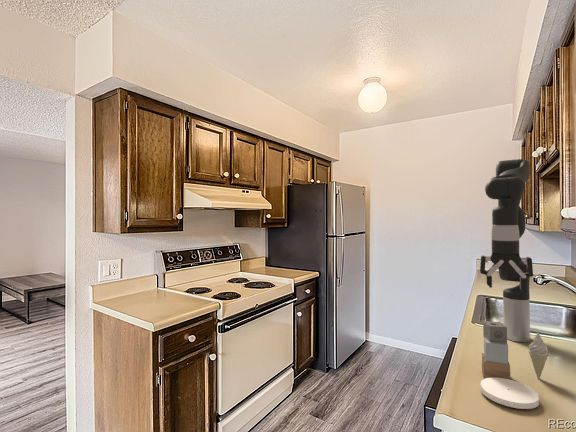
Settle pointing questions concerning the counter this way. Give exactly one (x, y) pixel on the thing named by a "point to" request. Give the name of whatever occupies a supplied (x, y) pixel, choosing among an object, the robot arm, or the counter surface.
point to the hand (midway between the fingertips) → (505, 288)
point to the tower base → (495, 369)
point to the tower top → (496, 352)
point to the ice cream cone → (538, 354)
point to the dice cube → (495, 332)
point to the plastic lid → (509, 393)
